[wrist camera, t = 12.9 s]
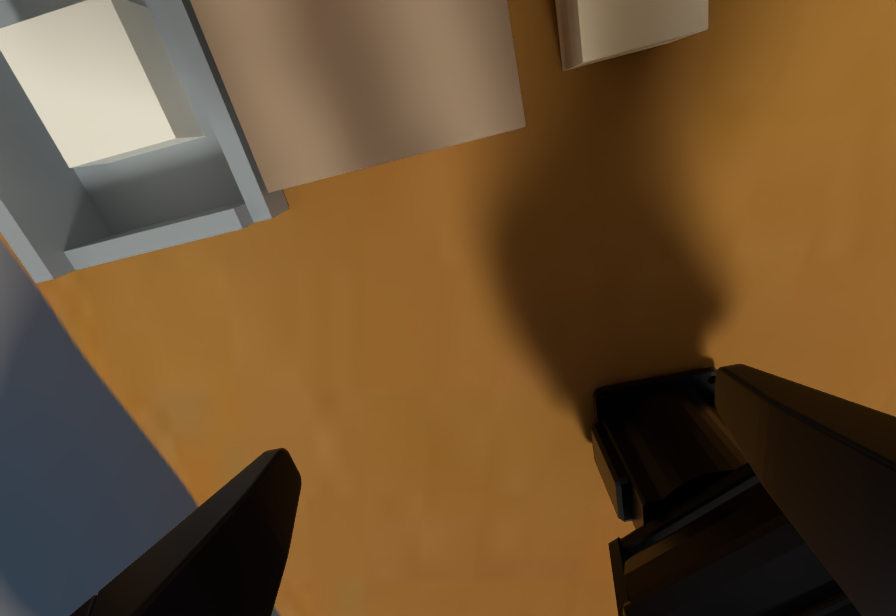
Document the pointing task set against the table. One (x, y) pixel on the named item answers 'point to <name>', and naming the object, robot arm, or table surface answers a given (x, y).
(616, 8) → the beige l-shaped block
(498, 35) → the tan flat block
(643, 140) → the table surface
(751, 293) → the table surface
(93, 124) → the cream tile
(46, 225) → the grey tray
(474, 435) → the table surface
